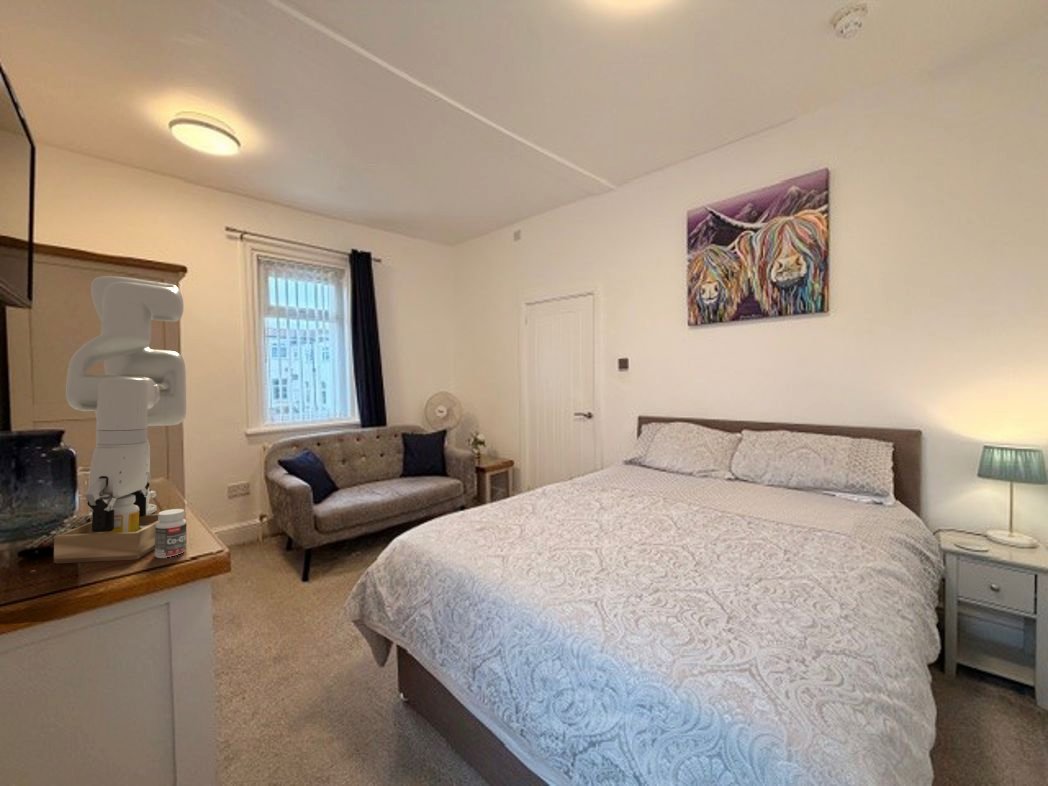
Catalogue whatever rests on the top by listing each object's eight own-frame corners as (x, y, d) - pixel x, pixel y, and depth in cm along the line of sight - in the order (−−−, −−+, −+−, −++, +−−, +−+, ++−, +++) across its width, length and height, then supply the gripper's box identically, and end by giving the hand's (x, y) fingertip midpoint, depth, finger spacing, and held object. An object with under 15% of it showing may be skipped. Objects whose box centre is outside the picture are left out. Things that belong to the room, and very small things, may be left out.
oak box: (104, 539, 92) (105, 515, 92) (175, 536, 95) (176, 513, 95) (53, 563, 79) (54, 536, 79) (137, 559, 82) (137, 533, 82)
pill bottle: (168, 560, 82) (169, 516, 82) (148, 557, 83) (149, 514, 83) (192, 551, 87) (192, 509, 87) (172, 548, 88) (173, 507, 88)
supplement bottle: (106, 551, 84) (107, 501, 84) (98, 544, 87) (99, 497, 87) (142, 543, 88) (143, 496, 88) (133, 537, 91) (134, 492, 91)
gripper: (129, 433, 95) (127, 511, 95) (64, 443, 78) (62, 539, 78) (168, 433, 96) (167, 510, 96) (114, 443, 79) (112, 537, 80)
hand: (120, 523), depth 87 cm, fingers open, 9 cm apart
